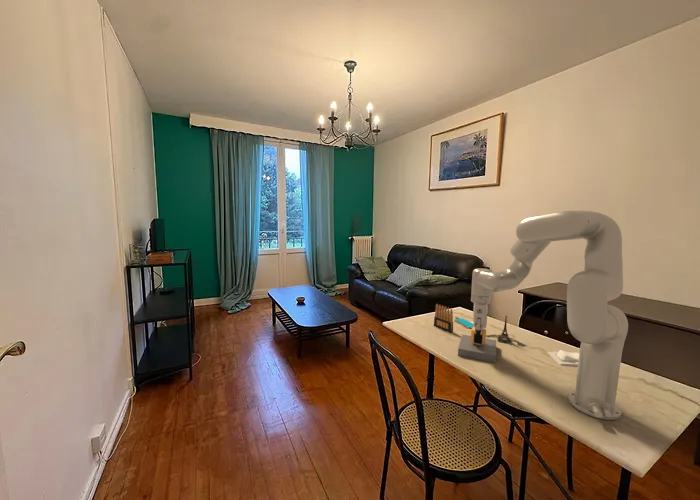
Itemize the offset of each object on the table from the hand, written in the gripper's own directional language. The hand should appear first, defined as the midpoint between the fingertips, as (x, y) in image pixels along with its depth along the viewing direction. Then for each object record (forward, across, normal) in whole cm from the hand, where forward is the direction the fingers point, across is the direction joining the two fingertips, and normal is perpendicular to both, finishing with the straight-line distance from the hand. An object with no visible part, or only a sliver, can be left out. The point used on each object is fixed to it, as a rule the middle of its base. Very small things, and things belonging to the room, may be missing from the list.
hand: (478, 339), depth 130 cm
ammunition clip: (+5, +19, +17) cm, 26 cm away
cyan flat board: (+6, +33, +6) cm, 34 cm away
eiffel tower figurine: (+6, +17, -11) cm, 21 cm away
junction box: (+5, 0, 0) cm, 5 cm away
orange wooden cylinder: (+1, 0, 0) cm, 1 cm away
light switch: (+6, +8, -34) cm, 36 cm away
